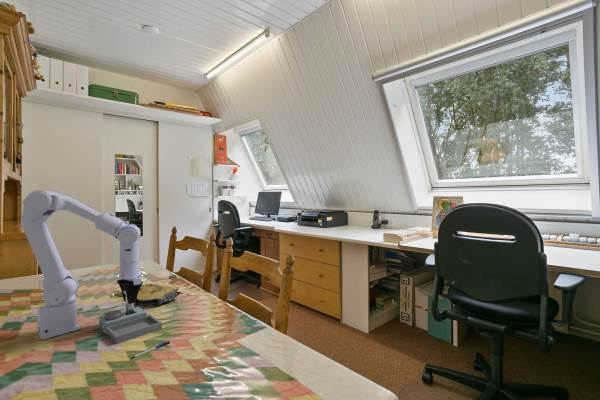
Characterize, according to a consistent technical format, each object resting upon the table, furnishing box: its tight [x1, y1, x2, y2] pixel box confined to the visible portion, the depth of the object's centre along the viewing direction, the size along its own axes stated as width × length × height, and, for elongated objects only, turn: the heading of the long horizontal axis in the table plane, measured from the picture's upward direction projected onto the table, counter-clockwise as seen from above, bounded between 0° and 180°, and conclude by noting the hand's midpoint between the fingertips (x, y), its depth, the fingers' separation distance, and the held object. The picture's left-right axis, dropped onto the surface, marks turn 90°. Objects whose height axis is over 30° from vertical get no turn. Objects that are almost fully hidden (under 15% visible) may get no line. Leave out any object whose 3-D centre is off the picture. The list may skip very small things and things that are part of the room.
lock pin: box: [124, 290, 135, 315], centre depth 99 cm, size 4×4×8 cm
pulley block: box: [134, 283, 184, 308], centre depth 122 cm, size 14×6×30 cm
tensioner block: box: [98, 306, 148, 334], centre depth 98 cm, size 12×7×4 cm, turn 138°
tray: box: [105, 314, 163, 345], centre depth 93 cm, size 13×9×2 cm
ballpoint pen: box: [130, 340, 171, 360], centre depth 82 cm, size 10×1×1 cm, turn 143°
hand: (129, 301), depth 99 cm, fingers closed on lock pin, 3 cm apart
